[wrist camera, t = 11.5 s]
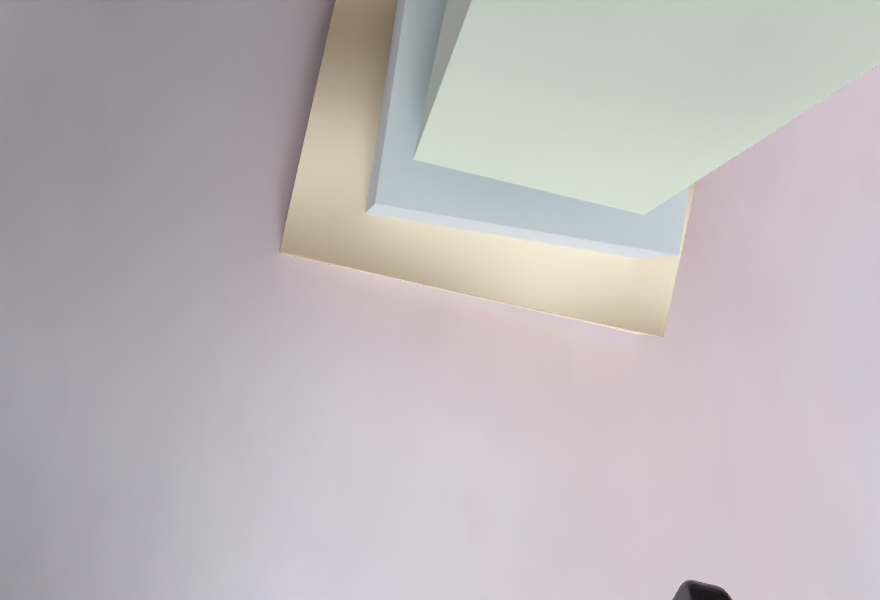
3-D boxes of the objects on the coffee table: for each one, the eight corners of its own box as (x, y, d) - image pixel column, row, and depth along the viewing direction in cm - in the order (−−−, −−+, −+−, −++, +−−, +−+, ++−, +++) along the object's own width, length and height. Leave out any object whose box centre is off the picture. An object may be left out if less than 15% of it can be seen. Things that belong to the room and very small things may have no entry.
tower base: (625, 331, 24) (662, 337, 21) (281, 254, 22) (279, 250, 20) (696, -4, 24) (742, -36, 22) (361, -106, 22) (369, -155, 20)
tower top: (634, 258, 21) (678, 255, 19) (365, 213, 20) (374, 203, 18) (674, -11, 21) (724, -49, 19) (408, -72, 20) (423, -121, 18)
